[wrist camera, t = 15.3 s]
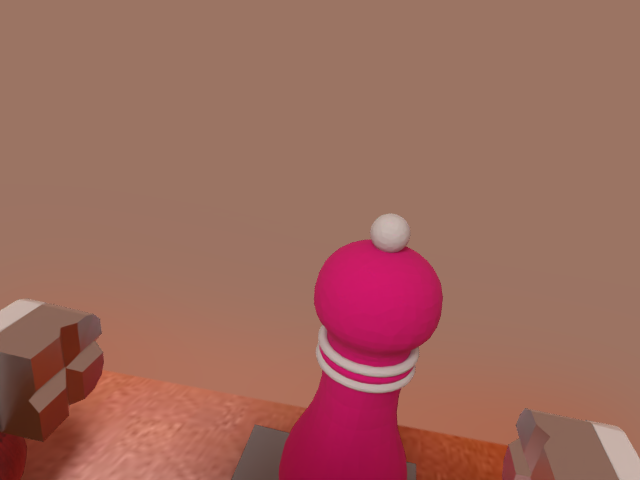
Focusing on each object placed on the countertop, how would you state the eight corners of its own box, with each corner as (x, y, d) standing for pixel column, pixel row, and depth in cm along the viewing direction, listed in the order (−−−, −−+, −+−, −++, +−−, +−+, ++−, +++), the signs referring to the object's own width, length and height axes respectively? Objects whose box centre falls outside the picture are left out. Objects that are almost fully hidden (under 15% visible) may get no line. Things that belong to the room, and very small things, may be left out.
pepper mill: (358, 462, 32) (417, 190, 25) (414, 564, 26) (515, 245, 19) (258, 487, 29) (290, 189, 22) (295, 608, 23) (356, 253, 16)
